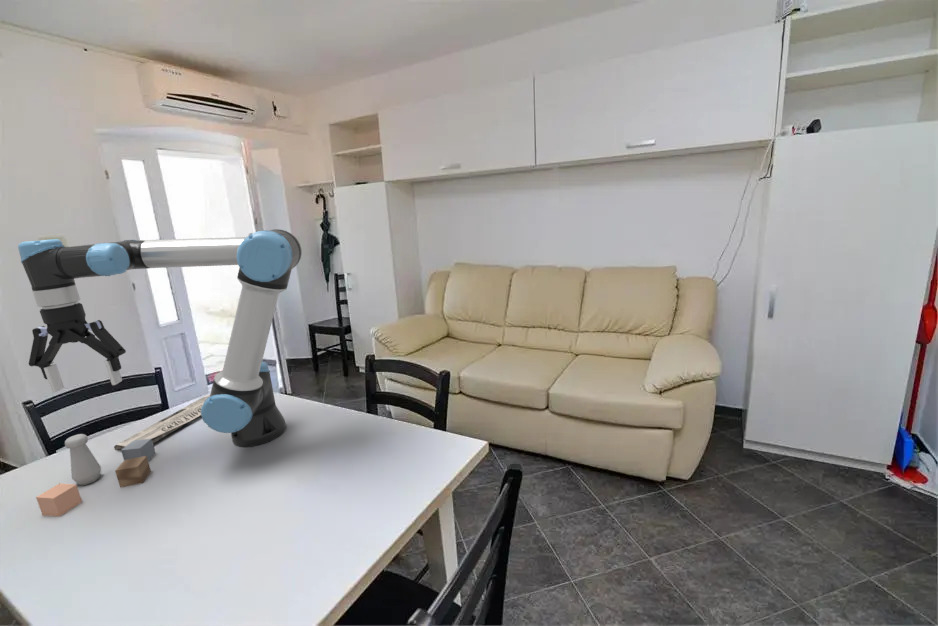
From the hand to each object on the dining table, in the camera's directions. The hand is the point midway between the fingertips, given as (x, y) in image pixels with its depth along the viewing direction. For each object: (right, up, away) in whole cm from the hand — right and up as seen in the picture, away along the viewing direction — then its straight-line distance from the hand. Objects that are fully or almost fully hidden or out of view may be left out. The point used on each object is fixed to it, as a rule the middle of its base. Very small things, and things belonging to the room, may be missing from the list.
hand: (88, 386), depth 105 cm
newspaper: (-1, -19, +34) cm, 39 cm away
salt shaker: (-5, -26, +6) cm, 27 cm away
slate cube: (+2, -23, +14) cm, 27 cm away
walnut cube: (+8, -26, +5) cm, 27 cm away
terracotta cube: (-2, -29, -5) cm, 29 cm away
